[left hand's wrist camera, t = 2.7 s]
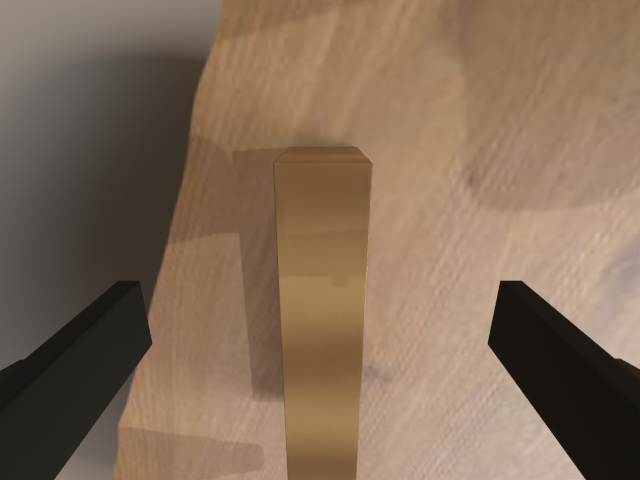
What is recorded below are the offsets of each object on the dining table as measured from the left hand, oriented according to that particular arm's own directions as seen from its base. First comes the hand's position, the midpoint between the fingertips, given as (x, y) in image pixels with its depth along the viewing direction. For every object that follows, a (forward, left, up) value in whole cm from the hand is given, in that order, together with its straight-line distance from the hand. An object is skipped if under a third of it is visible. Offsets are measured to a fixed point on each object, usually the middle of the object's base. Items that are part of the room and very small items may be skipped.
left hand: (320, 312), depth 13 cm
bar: (+6, +4, -15) cm, 17 cm away
